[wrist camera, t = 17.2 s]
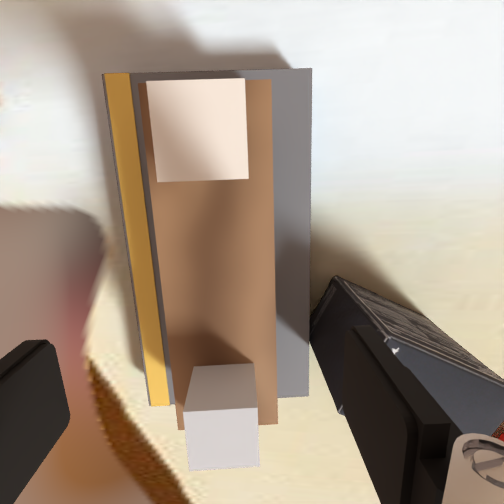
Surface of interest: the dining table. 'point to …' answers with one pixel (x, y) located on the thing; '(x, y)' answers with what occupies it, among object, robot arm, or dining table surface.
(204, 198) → the brown long block
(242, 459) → the white cube
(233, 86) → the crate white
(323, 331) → the small box
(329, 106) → the dining table surface
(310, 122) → the block
